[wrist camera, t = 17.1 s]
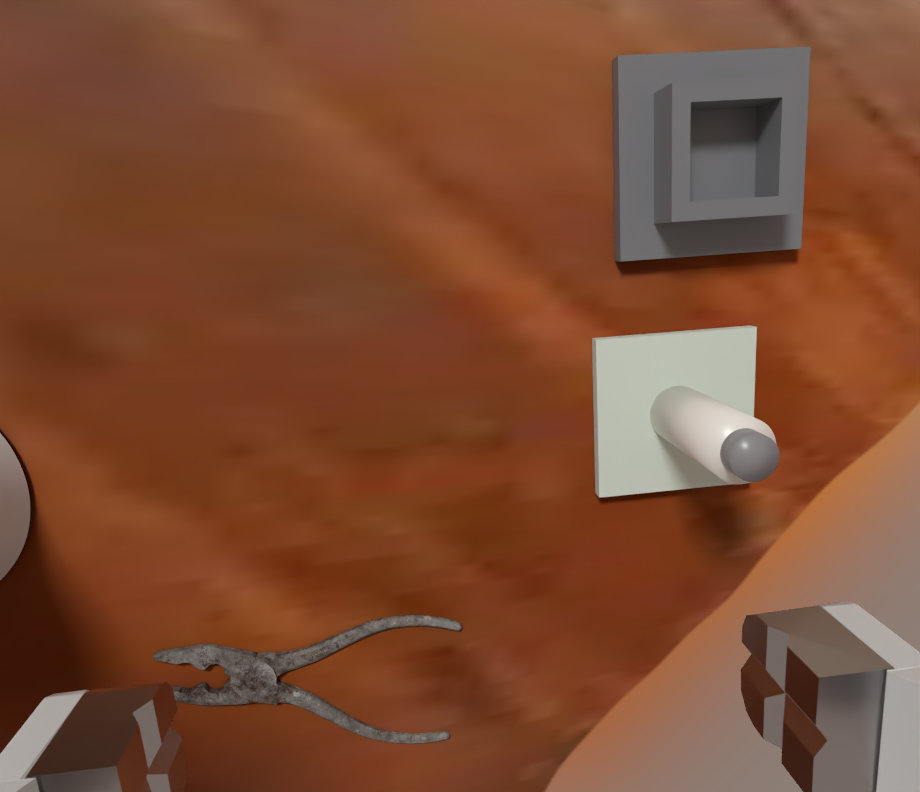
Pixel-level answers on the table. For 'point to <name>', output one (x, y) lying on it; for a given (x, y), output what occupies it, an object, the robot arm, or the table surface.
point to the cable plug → (715, 435)
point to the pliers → (261, 670)
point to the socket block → (709, 152)
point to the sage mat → (638, 384)
